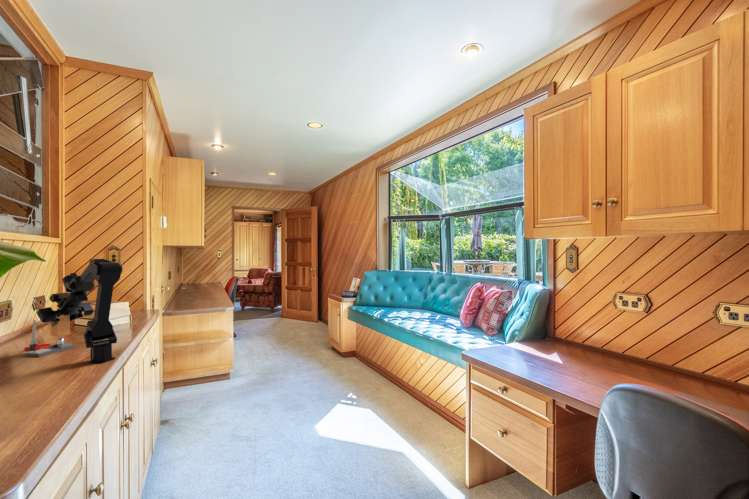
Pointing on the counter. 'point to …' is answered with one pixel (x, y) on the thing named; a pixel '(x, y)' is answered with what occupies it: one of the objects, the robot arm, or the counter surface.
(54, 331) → the orange sleeve
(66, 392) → the counter surface
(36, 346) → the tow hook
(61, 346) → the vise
